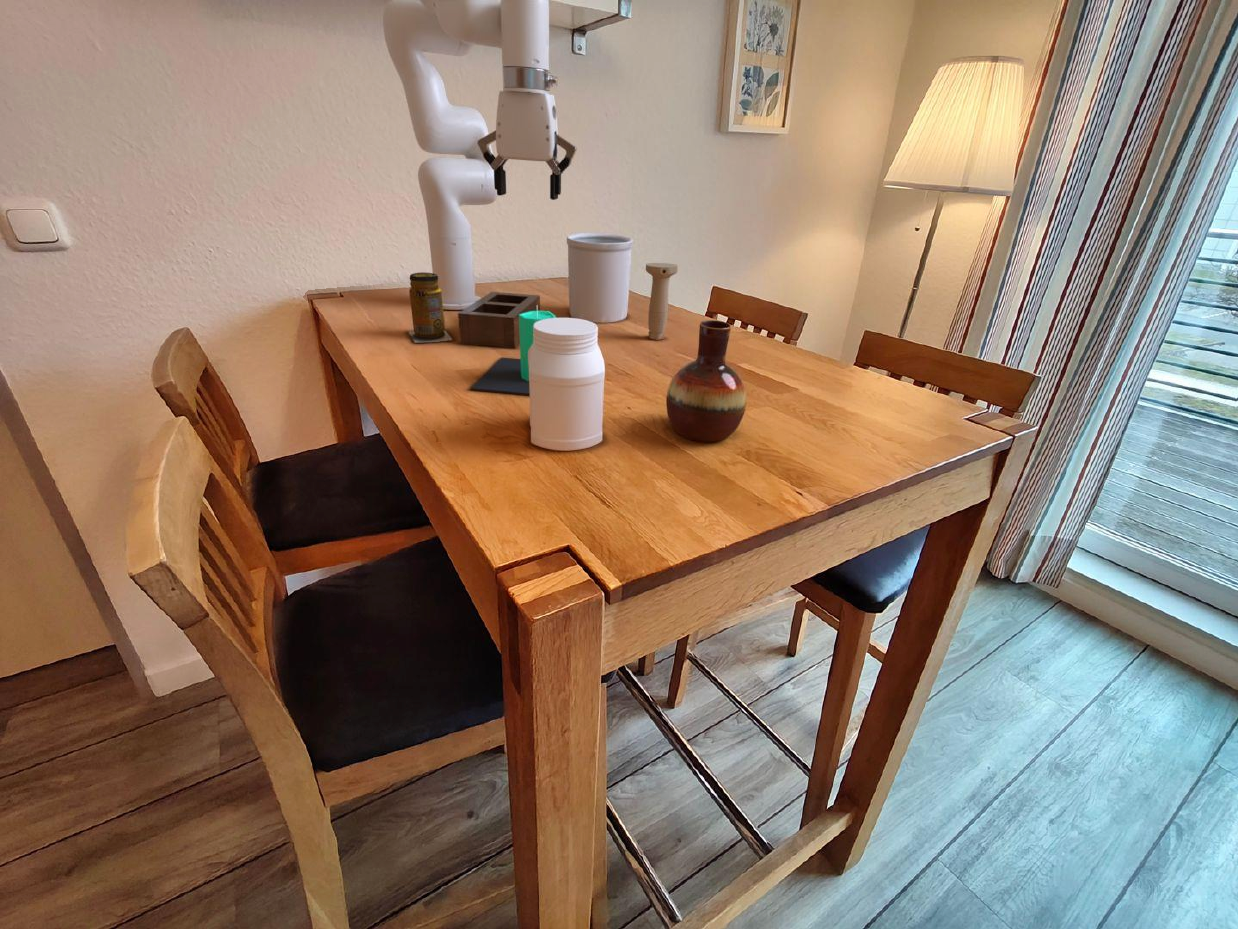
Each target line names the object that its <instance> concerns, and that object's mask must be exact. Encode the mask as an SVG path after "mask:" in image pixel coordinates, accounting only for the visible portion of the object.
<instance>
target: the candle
mask: <svg viewBox="0 0 1238 929" xmlns="http://www.w3.org/2000/svg"><path fill="white" fill-rule="evenodd" d="M549 318H557V316H556V315H555V314H554V313H553V312H551V311H549V310H540V311H538V305H537V311H529V312H526V313H522V314H519V331H520V344H519V355H520V356H519V357H520V358H519V359H521V377H522V379H524V380H526V381H529V365H528V350H529V349H530V347H531V346H532V344H533V342H534V341H533V338H534V337H533V334H534V332H533V325H534V324H535V323H536V322H538V321H540V320H544V319H549Z"/></svg>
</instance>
